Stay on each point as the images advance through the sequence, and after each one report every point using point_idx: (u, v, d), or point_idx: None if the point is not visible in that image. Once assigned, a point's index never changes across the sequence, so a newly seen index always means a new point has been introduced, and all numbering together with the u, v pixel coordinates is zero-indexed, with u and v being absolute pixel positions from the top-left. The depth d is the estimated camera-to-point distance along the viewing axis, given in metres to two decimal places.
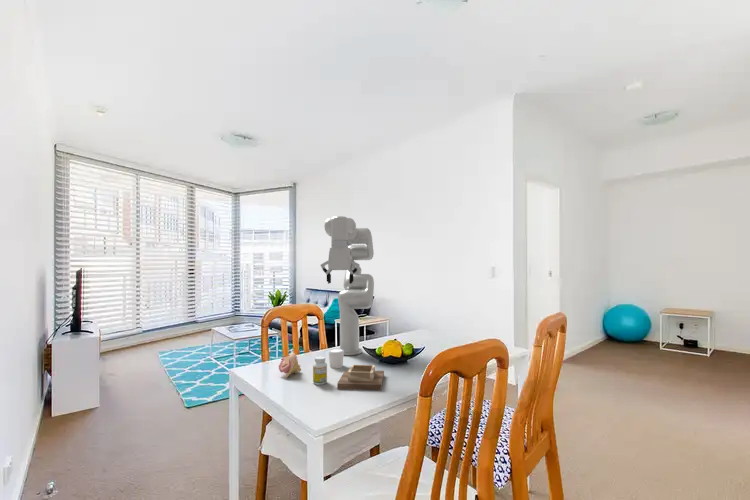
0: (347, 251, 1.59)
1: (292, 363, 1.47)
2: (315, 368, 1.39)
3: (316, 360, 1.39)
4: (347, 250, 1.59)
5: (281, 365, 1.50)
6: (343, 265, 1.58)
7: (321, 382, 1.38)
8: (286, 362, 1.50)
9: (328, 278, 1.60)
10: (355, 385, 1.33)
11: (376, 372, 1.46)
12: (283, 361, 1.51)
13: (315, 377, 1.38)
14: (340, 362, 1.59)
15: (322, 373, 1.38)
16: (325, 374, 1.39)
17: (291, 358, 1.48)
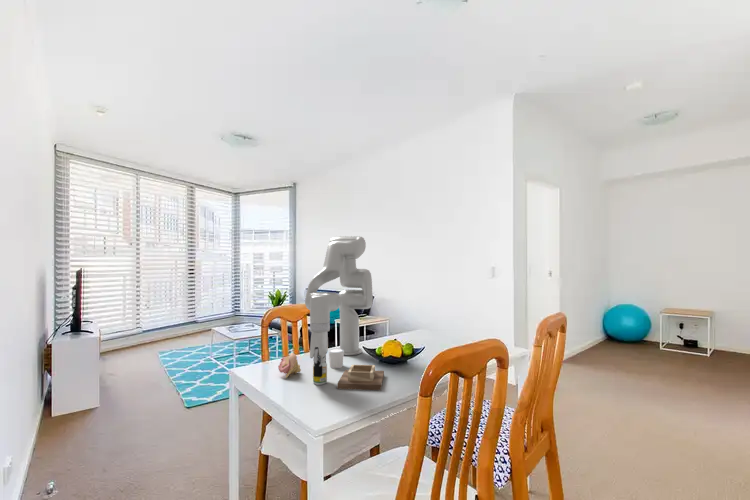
0: (327, 332, 1.44)
1: (292, 363, 1.47)
2: None
3: None
4: (327, 331, 1.44)
5: (281, 365, 1.49)
6: (326, 349, 1.43)
7: (321, 382, 1.38)
8: (286, 362, 1.49)
9: None
10: (355, 385, 1.33)
11: (376, 372, 1.46)
12: (283, 361, 1.51)
13: (315, 377, 1.38)
14: (340, 362, 1.59)
15: (322, 373, 1.38)
16: (325, 374, 1.39)
17: (291, 358, 1.48)
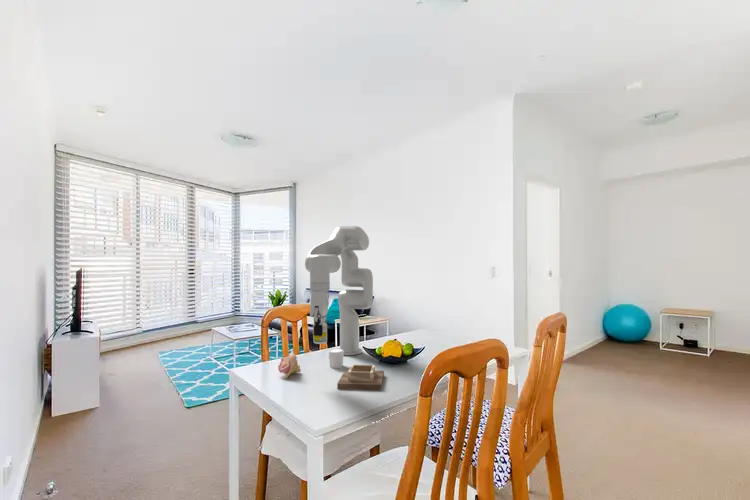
0: (327, 293, 1.45)
1: (292, 363, 1.47)
2: None
3: None
4: None
5: (281, 365, 1.49)
6: (326, 309, 1.43)
7: (321, 341, 1.39)
8: (286, 362, 1.49)
9: None
10: (355, 385, 1.33)
11: (376, 372, 1.46)
12: (283, 361, 1.51)
13: (315, 336, 1.39)
14: (340, 362, 1.59)
15: (322, 332, 1.39)
16: (325, 333, 1.40)
17: (291, 358, 1.48)
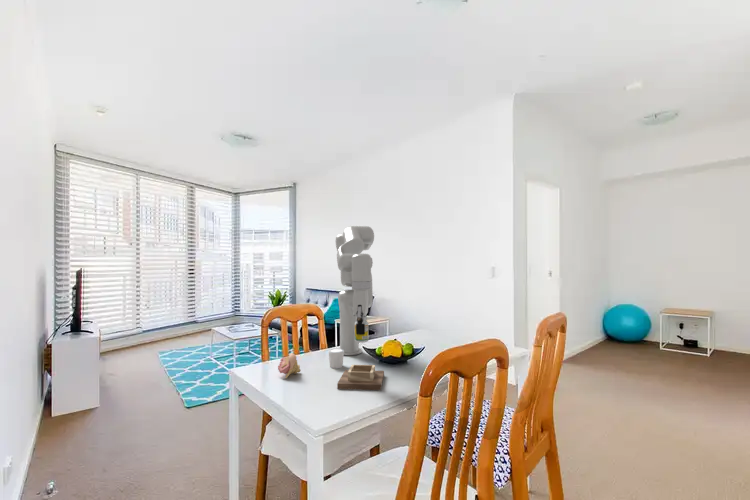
0: None
1: (292, 364, 1.46)
2: None
3: None
4: None
5: (280, 366, 1.49)
6: (367, 308, 1.43)
7: (363, 340, 1.39)
8: (285, 363, 1.49)
9: (364, 328, 1.38)
10: (355, 385, 1.33)
11: (376, 372, 1.46)
12: (282, 362, 1.51)
13: (357, 335, 1.39)
14: (340, 362, 1.59)
15: None
16: (367, 332, 1.40)
17: (291, 359, 1.47)
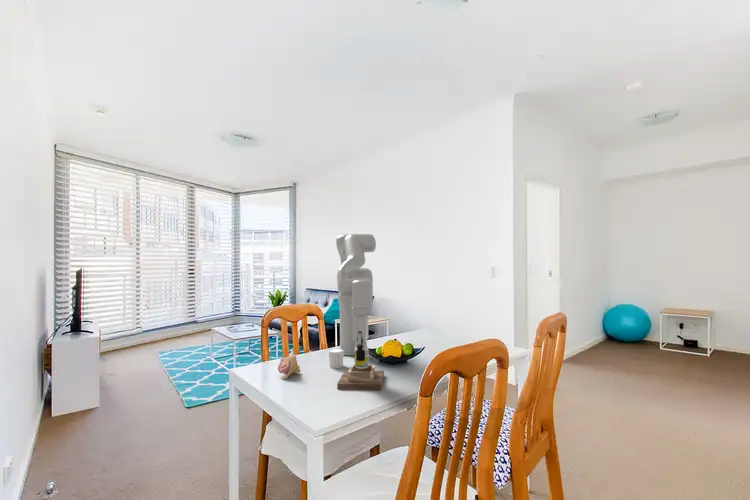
0: None
1: (292, 364, 1.46)
2: None
3: None
4: None
5: (280, 366, 1.48)
6: None
7: (363, 366, 1.39)
8: (285, 363, 1.48)
9: (364, 354, 1.38)
10: (355, 385, 1.33)
11: (376, 372, 1.46)
12: (282, 362, 1.50)
13: (357, 361, 1.39)
14: (340, 362, 1.59)
15: None
16: (367, 358, 1.40)
17: (290, 359, 1.47)
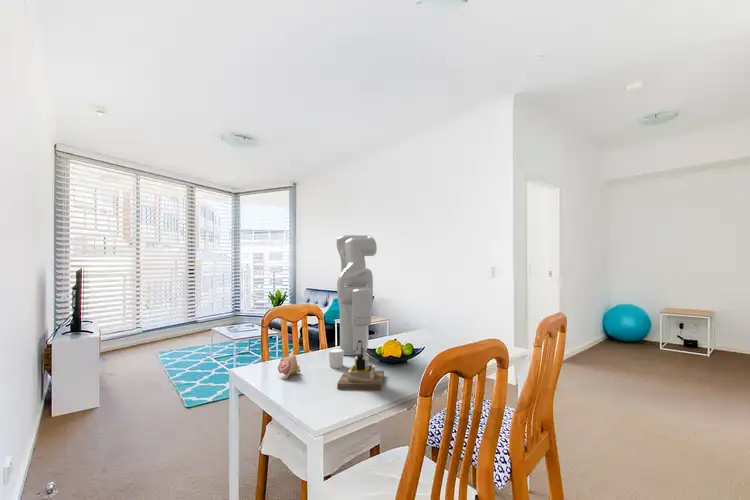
0: None
1: (291, 364, 1.46)
2: None
3: None
4: None
5: (280, 366, 1.48)
6: None
7: None
8: (285, 363, 1.48)
9: (364, 364, 1.38)
10: (355, 385, 1.33)
11: (376, 372, 1.46)
12: (282, 362, 1.50)
13: (357, 370, 1.39)
14: (340, 362, 1.59)
15: None
16: (367, 367, 1.40)
17: (290, 359, 1.47)
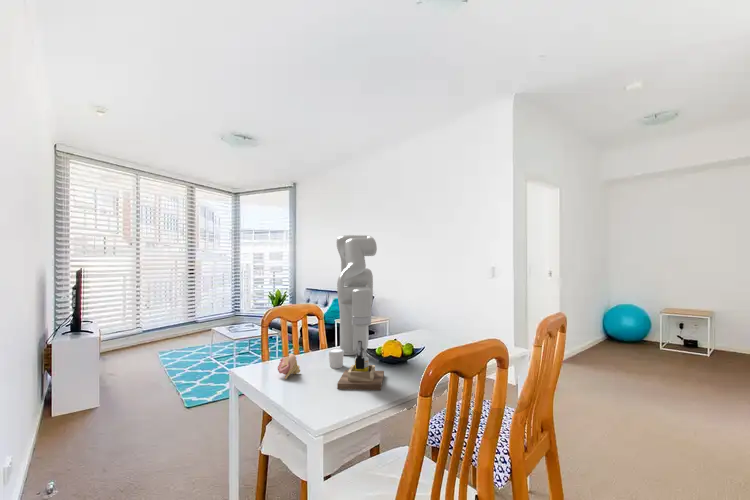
0: None
1: (291, 364, 1.46)
2: None
3: None
4: None
5: (280, 366, 1.48)
6: None
7: None
8: (285, 363, 1.48)
9: None
10: (355, 385, 1.33)
11: (376, 372, 1.46)
12: (282, 362, 1.50)
13: None
14: (340, 362, 1.59)
15: (364, 367, 1.39)
16: (367, 368, 1.40)
17: (290, 359, 1.47)
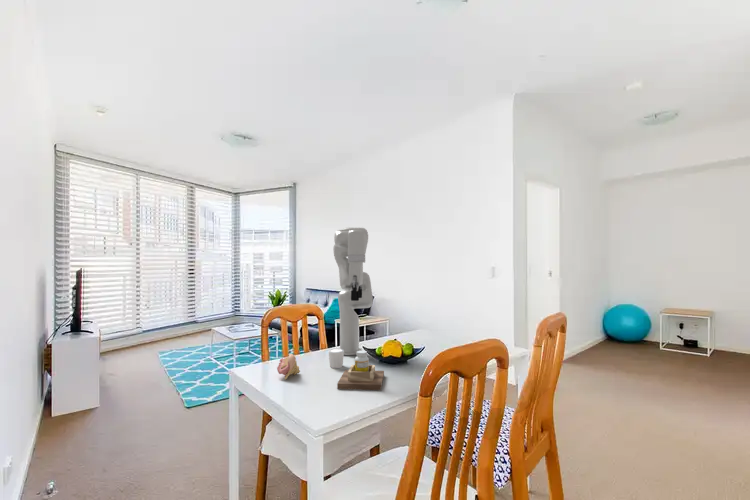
0: None
1: (291, 365, 1.45)
2: (357, 362, 1.39)
3: (358, 354, 1.40)
4: None
5: (280, 367, 1.47)
6: (362, 280, 1.58)
7: None
8: (285, 364, 1.47)
9: (358, 295, 1.51)
10: (355, 385, 1.33)
11: (376, 372, 1.46)
12: (282, 363, 1.49)
13: None
14: (340, 362, 1.59)
15: (364, 367, 1.39)
16: (367, 368, 1.40)
17: (290, 359, 1.46)
